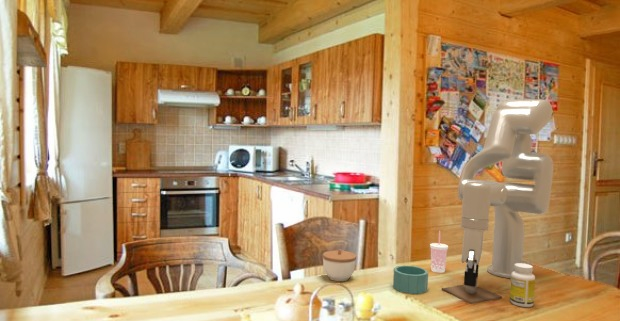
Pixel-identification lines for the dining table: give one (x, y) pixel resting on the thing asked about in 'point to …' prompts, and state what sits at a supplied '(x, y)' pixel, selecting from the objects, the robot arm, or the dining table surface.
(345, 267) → the lidded jar
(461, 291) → the lid
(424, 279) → the bowl
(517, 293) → the pill bottle
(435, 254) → the beverage cup
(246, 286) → the dining table surface
